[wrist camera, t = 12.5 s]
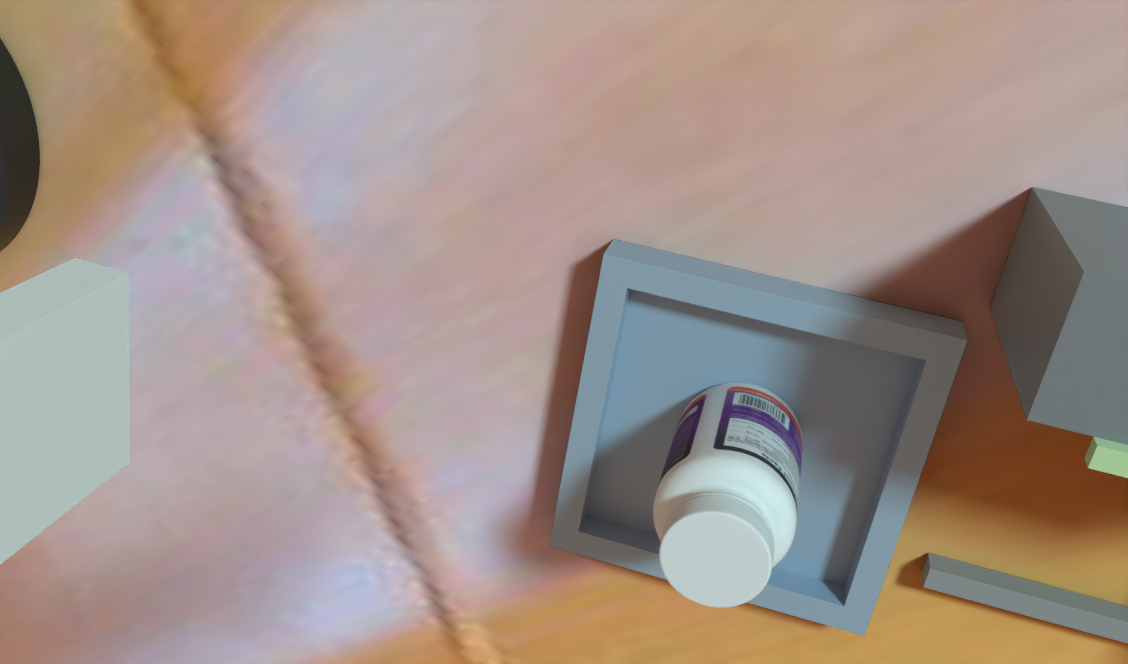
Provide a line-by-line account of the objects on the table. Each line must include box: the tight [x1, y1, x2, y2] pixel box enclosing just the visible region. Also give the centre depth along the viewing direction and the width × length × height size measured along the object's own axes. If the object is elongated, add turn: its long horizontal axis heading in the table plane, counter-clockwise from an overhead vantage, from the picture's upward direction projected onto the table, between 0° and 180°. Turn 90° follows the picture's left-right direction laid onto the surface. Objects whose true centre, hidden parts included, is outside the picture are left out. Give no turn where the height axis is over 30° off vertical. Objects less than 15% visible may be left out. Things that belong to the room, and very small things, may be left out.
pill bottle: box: [653, 383, 803, 608], centre depth 42 cm, size 5×5×10 cm
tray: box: [549, 239, 968, 636], centre depth 46 cm, size 14×14×2 cm
